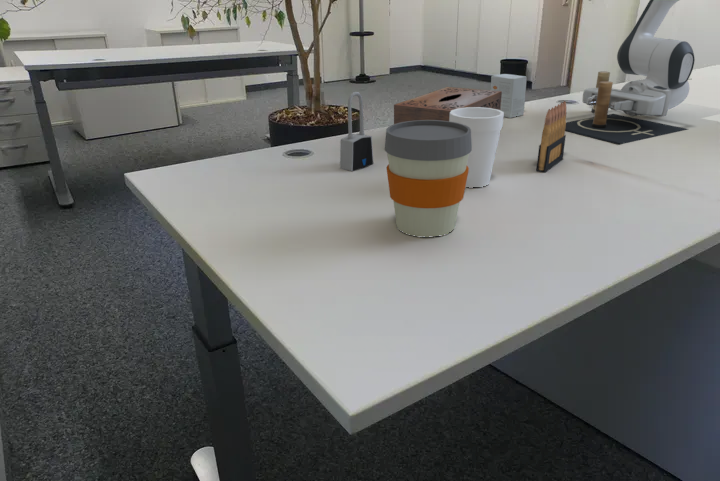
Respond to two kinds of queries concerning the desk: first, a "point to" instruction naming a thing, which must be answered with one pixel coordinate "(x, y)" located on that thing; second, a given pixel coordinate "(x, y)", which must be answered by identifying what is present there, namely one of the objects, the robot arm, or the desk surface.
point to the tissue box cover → (445, 103)
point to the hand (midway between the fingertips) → (600, 104)
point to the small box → (510, 93)
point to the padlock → (356, 143)
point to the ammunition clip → (552, 138)
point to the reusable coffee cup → (427, 174)
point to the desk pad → (621, 129)
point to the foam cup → (480, 141)
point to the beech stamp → (602, 104)
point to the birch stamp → (601, 77)
